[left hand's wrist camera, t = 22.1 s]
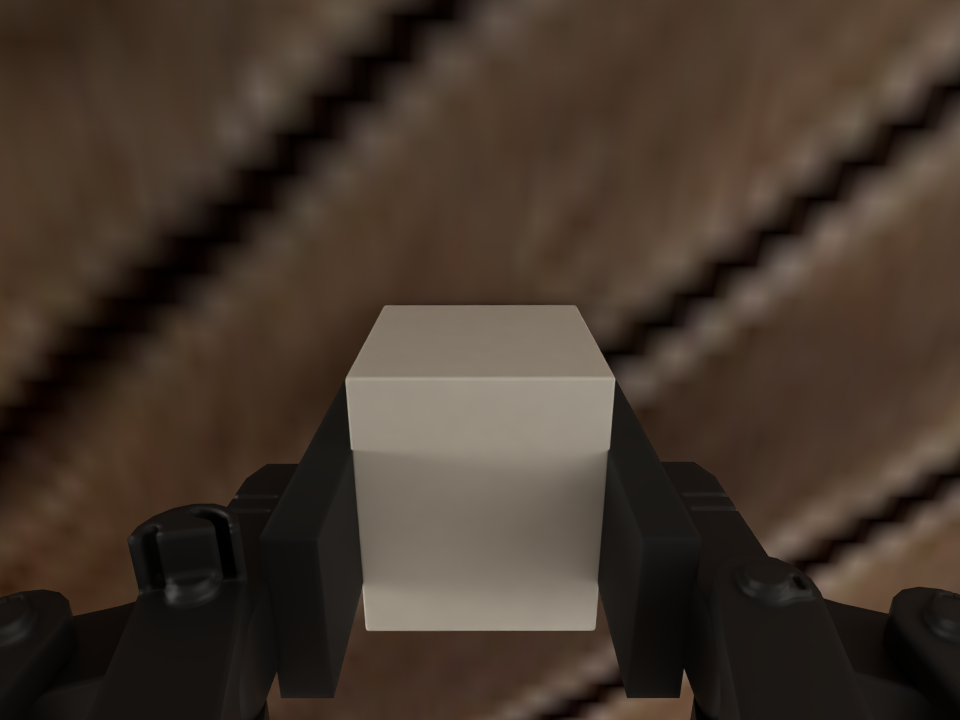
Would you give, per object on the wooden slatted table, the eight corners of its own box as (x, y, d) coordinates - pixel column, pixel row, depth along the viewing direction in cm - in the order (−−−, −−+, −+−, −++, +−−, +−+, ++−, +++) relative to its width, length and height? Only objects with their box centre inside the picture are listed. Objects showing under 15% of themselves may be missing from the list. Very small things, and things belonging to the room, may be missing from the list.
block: (394, 501, 16) (365, 632, 12) (383, 304, 14) (343, 378, 10) (565, 501, 16) (595, 632, 12) (576, 304, 14) (616, 377, 10)
